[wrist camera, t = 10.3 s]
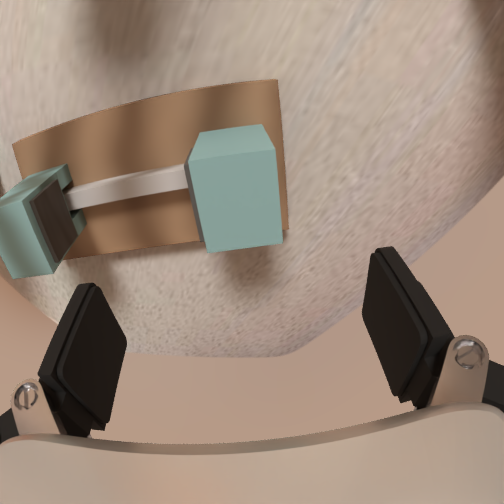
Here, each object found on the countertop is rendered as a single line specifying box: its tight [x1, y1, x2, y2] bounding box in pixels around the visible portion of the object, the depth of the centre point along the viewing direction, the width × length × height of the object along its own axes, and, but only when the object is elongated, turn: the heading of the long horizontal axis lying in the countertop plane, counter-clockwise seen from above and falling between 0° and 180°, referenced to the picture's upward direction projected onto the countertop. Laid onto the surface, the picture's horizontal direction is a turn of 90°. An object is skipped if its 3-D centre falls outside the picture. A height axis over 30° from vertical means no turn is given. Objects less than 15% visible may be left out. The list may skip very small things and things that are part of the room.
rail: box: [0, 79, 289, 279], centre depth 20 cm, size 22×12×8 cm, turn 96°
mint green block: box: [184, 124, 283, 253], centre depth 20 cm, size 5×6×7 cm
